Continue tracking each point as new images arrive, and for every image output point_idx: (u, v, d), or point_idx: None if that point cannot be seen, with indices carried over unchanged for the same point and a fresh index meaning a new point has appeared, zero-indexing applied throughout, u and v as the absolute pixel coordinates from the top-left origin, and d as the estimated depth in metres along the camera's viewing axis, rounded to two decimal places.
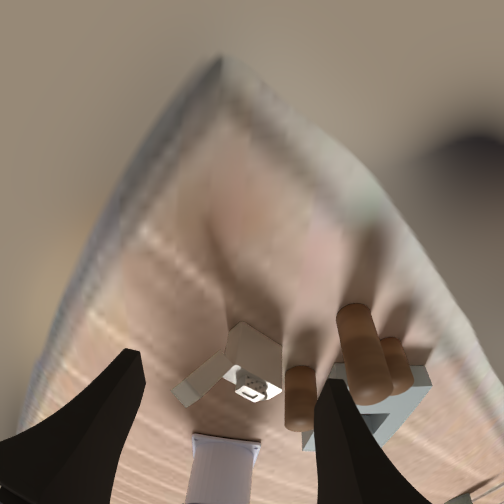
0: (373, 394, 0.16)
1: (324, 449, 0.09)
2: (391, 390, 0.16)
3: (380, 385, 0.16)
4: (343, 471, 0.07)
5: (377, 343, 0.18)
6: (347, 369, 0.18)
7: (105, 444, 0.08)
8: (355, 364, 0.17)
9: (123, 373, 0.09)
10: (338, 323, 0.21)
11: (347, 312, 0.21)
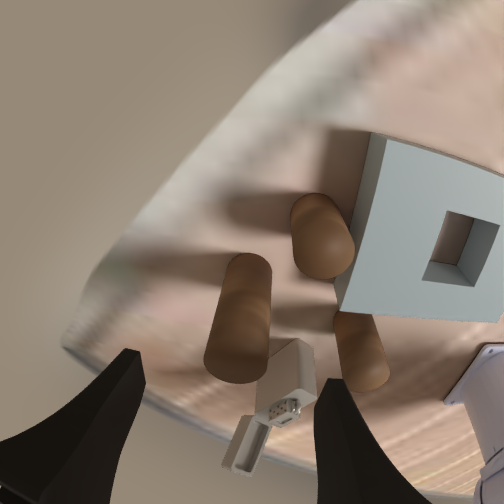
0: (238, 362, 0.12)
1: (324, 449, 0.09)
2: (229, 344, 0.12)
3: (215, 358, 0.12)
4: (343, 471, 0.07)
5: (218, 305, 0.15)
6: None
7: (105, 444, 0.08)
8: None
9: (124, 373, 0.09)
10: None
11: None
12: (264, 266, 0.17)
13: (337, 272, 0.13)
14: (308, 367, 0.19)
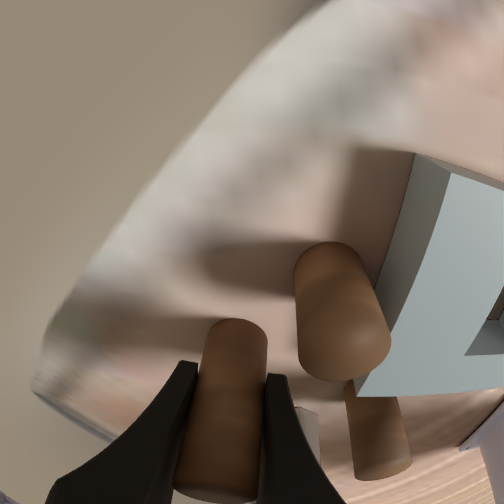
0: (218, 493, 0.07)
1: (262, 446, 0.09)
2: (204, 481, 0.07)
3: (187, 487, 0.07)
4: (269, 470, 0.07)
5: (191, 404, 0.10)
6: None
7: (170, 462, 0.08)
8: None
9: (187, 387, 0.09)
10: None
11: None
12: (256, 338, 0.12)
13: (361, 372, 0.08)
14: (311, 444, 0.14)
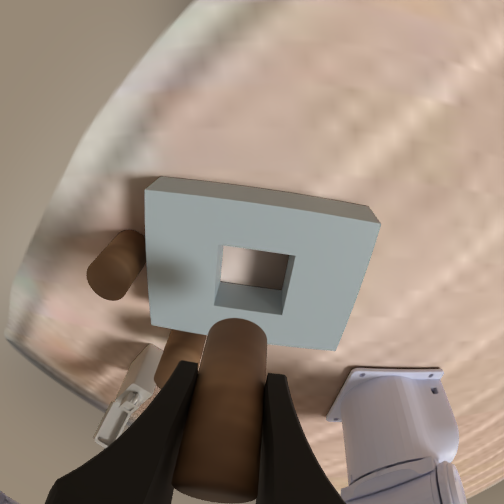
0: (218, 492, 0.07)
1: (262, 446, 0.09)
2: (205, 480, 0.07)
3: (187, 485, 0.07)
4: (269, 470, 0.07)
5: (192, 403, 0.10)
6: None
7: (170, 462, 0.08)
8: None
9: (187, 387, 0.09)
10: None
11: None
12: (257, 338, 0.12)
13: (120, 296, 0.17)
14: (152, 368, 0.22)
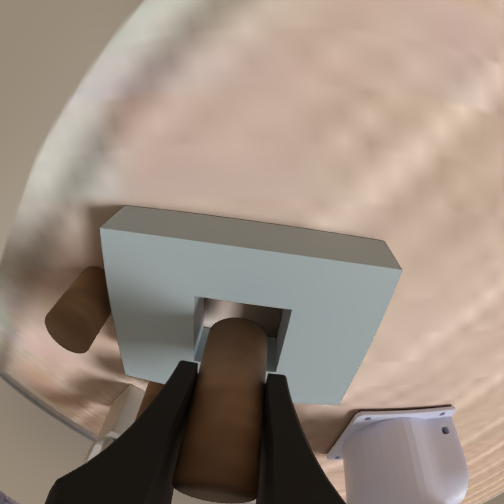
0: (219, 491, 0.07)
1: (262, 446, 0.09)
2: (205, 480, 0.07)
3: (187, 485, 0.07)
4: (269, 470, 0.07)
5: (192, 403, 0.10)
6: None
7: (170, 462, 0.08)
8: None
9: (187, 387, 0.09)
10: None
11: None
12: (257, 338, 0.12)
13: (83, 349, 0.13)
14: (133, 413, 0.19)
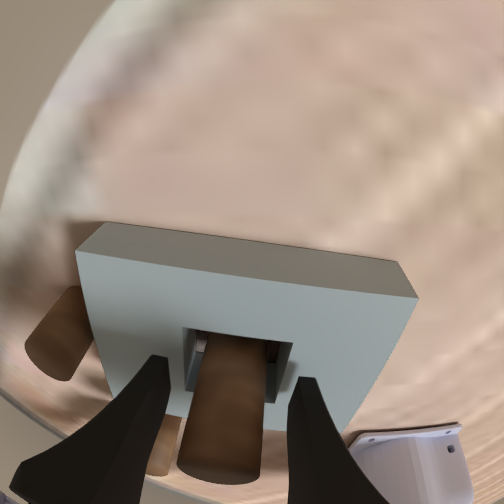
0: (222, 471, 0.08)
1: (294, 448, 0.09)
2: (209, 458, 0.07)
3: (192, 465, 0.08)
4: (307, 471, 0.07)
5: (196, 386, 0.10)
6: None
7: (136, 454, 0.08)
8: None
9: (154, 380, 0.09)
10: None
11: None
12: None
13: (66, 378, 0.11)
14: None
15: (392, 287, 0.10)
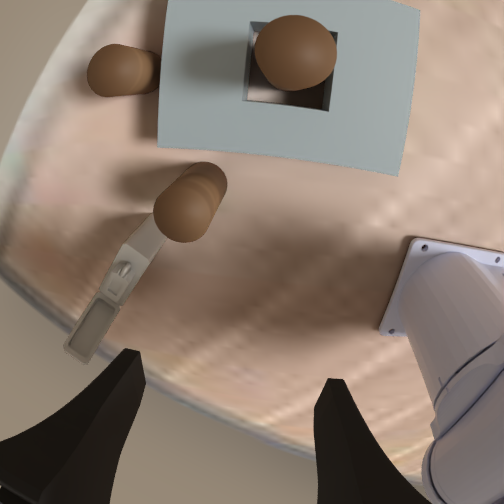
0: (301, 48, 0.08)
1: (324, 449, 0.09)
2: (291, 17, 0.08)
3: (271, 41, 0.08)
4: (343, 471, 0.07)
5: None
6: (289, 89, 0.11)
7: (105, 444, 0.08)
8: None
9: (123, 373, 0.09)
10: (285, 90, 0.14)
11: None
12: None
13: (123, 86, 0.12)
14: (152, 234, 0.17)
15: None
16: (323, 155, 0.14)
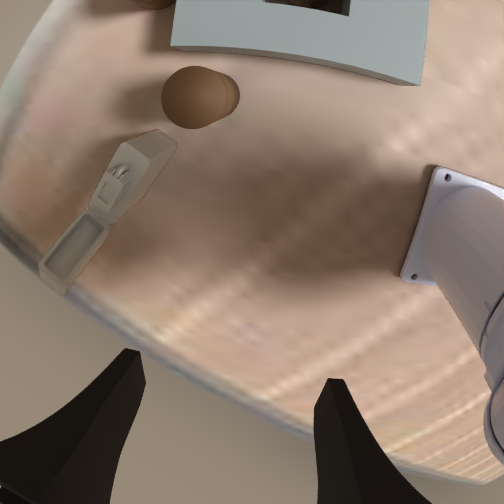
0: None
1: (324, 449, 0.09)
2: None
3: None
4: (343, 471, 0.07)
5: None
6: None
7: (105, 444, 0.08)
8: None
9: (123, 373, 0.09)
10: (304, 3, 0.12)
11: None
12: None
13: None
14: (154, 143, 0.15)
15: None
16: (344, 56, 0.12)
